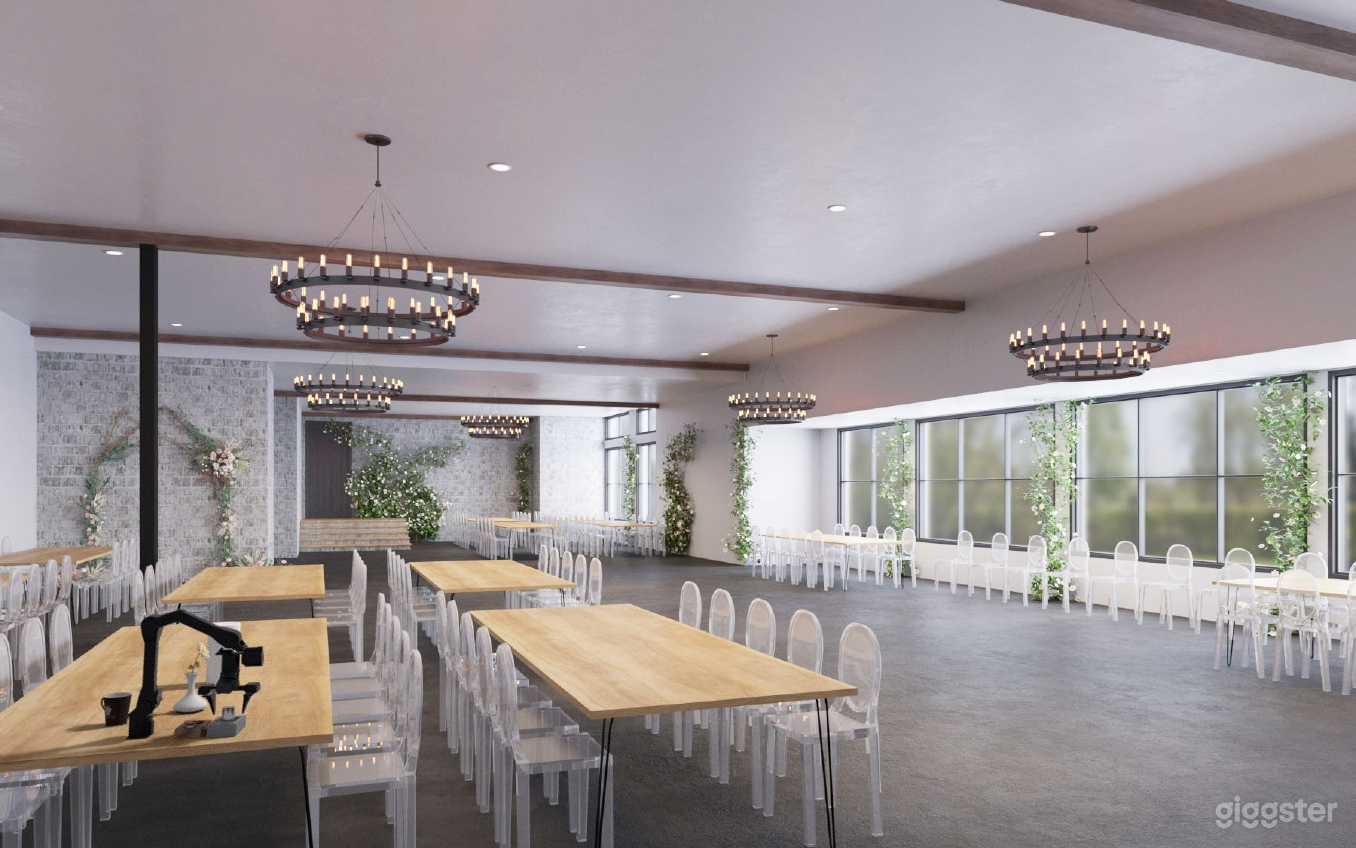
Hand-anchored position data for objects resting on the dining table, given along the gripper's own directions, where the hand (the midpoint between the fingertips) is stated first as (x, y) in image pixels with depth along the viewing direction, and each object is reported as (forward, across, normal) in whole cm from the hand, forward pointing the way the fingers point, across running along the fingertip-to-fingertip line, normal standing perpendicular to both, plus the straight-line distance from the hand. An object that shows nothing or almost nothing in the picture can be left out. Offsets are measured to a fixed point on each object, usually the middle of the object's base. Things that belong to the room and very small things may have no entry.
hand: (228, 714), depth 315 cm
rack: (+6, 0, -2) cm, 6 cm away
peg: (+6, 0, 0) cm, 6 cm away
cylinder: (+6, -25, +82) cm, 86 cm away
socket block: (+6, -10, -2) cm, 12 cm away
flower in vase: (+6, -22, +34) cm, 40 cm away
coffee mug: (+6, -42, +18) cm, 45 cm away
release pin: (+5, -11, -5) cm, 13 cm away
